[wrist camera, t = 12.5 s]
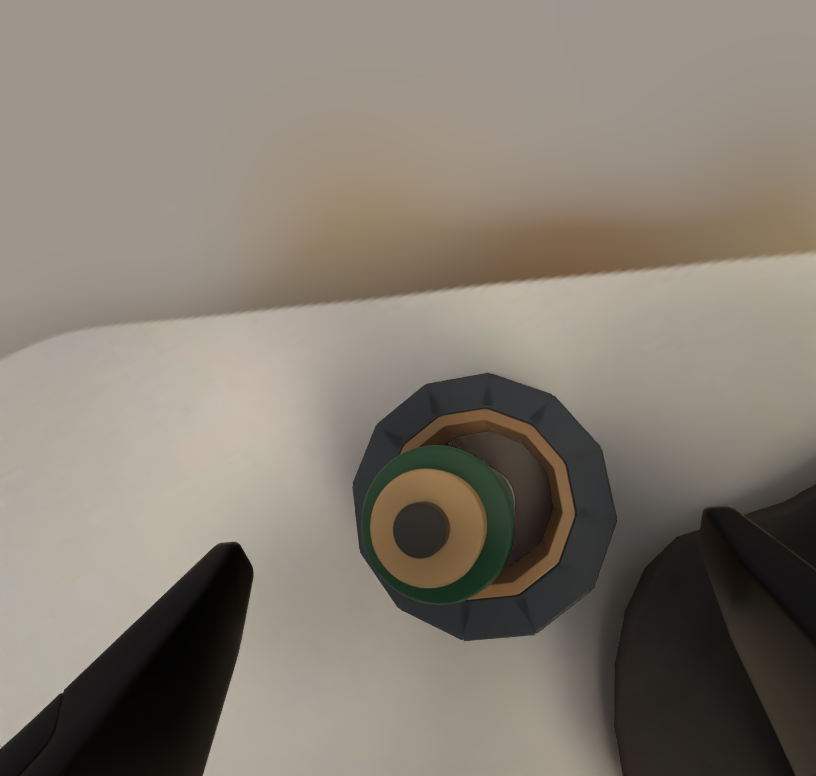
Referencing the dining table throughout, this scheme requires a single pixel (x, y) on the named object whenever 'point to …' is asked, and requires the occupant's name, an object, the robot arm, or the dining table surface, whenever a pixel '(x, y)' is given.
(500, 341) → the dining table surface
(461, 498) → the pencil
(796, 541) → the casserole
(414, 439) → the tape roll
